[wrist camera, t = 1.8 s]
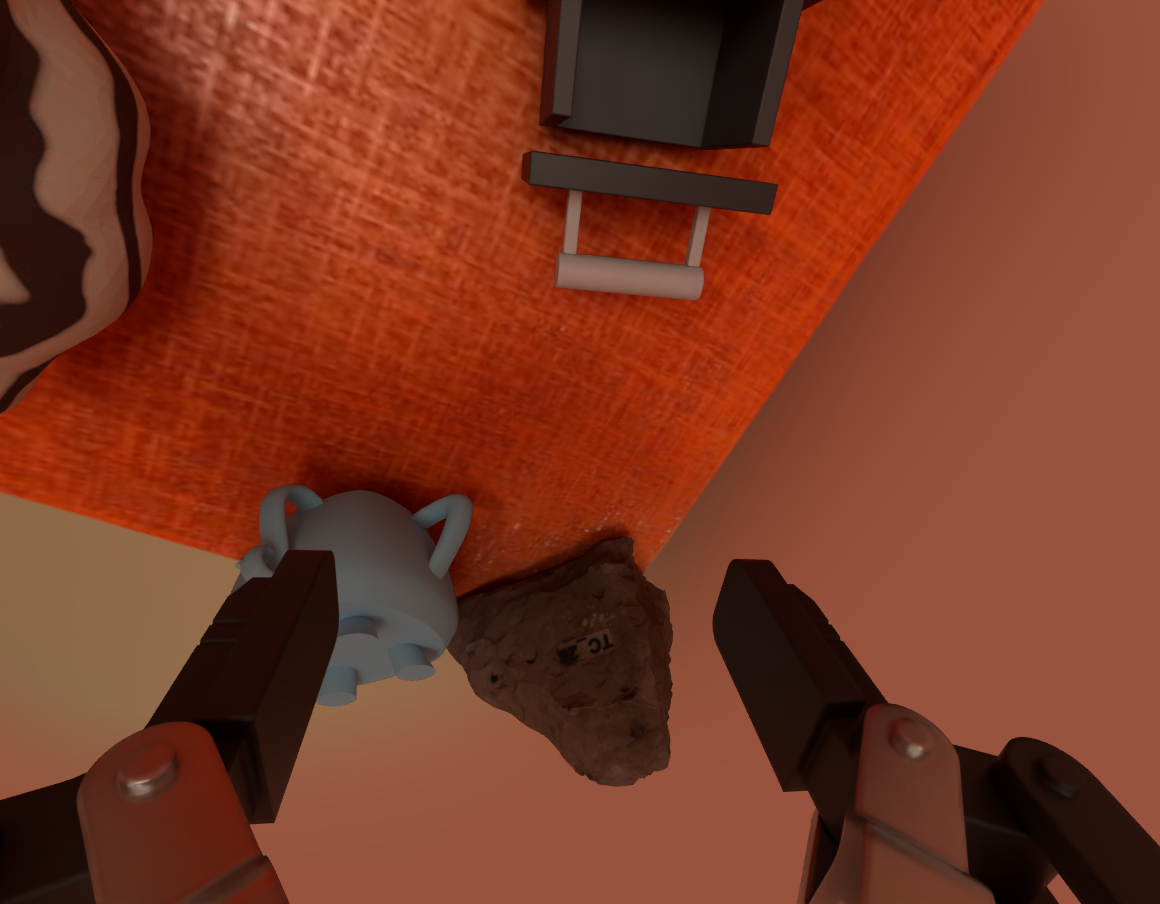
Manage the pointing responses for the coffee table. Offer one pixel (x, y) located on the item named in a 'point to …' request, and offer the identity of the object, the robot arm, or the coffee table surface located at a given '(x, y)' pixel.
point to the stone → (578, 661)
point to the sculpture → (65, 188)
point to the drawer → (659, 115)
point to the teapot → (371, 578)
